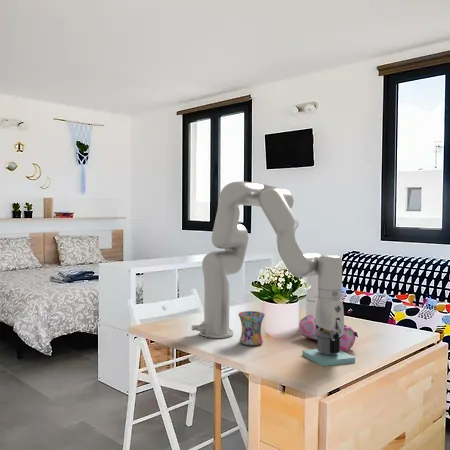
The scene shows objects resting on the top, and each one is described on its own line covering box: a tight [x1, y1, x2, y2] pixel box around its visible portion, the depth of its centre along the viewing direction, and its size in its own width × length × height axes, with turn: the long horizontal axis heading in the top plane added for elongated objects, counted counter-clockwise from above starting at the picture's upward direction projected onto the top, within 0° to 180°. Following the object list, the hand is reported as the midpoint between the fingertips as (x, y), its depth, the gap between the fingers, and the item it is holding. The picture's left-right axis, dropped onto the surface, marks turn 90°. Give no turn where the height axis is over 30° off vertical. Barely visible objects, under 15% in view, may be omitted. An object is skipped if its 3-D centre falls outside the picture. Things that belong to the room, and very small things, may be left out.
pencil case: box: [298, 315, 359, 352], centre depth 171 cm, size 21×9×9 cm, turn 32°
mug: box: [238, 310, 266, 346], centre depth 171 cm, size 12×9×11 cm
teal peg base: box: [301, 348, 356, 367], centre depth 154 cm, size 12×12×5 cm
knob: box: [316, 329, 337, 354], centre depth 154 cm, size 6×6×6 cm
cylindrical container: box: [305, 275, 318, 317], centre depth 197 cm, size 7×7×25 cm
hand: (328, 349), depth 154 cm, fingers closed on knob, 6 cm apart
